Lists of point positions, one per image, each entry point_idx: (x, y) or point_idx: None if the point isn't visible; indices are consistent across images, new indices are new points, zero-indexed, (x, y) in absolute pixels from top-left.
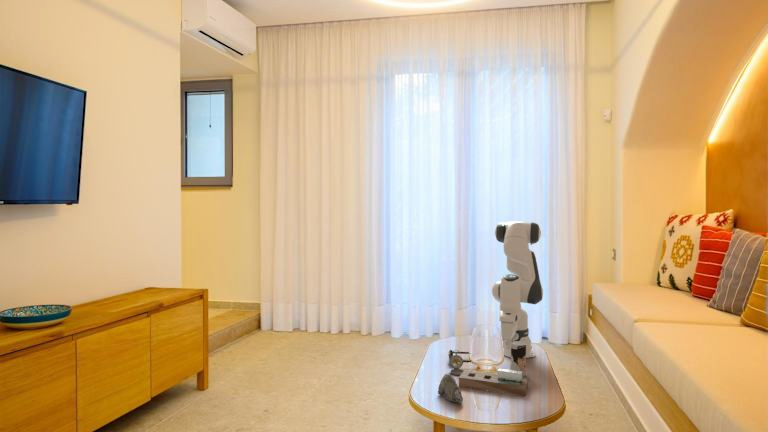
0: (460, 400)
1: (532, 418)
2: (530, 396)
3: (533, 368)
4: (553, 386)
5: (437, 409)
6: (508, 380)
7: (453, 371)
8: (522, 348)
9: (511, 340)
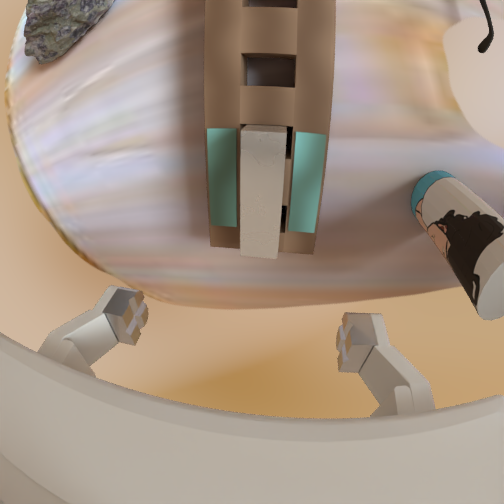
0: (39, 61)
1: (87, 249)
2: None
3: None
4: (343, 302)
5: None
6: None
7: None
8: (469, 295)
9: (345, 342)
